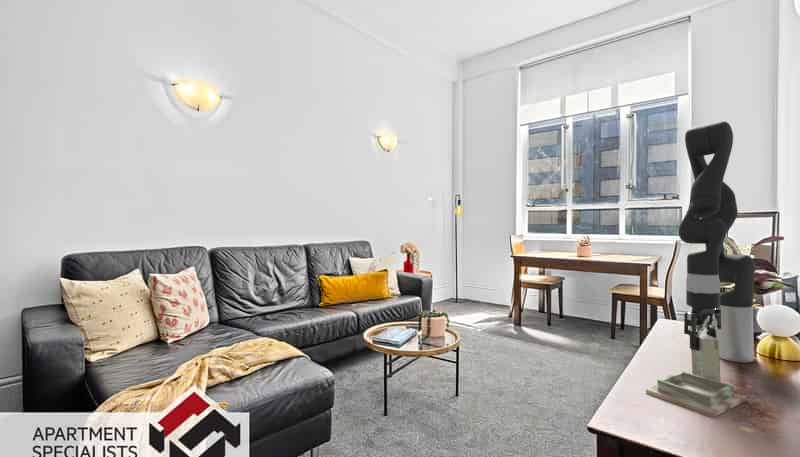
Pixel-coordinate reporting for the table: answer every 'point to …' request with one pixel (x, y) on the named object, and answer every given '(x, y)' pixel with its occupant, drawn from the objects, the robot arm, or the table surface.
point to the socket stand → (697, 393)
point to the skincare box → (707, 358)
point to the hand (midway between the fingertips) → (703, 347)
